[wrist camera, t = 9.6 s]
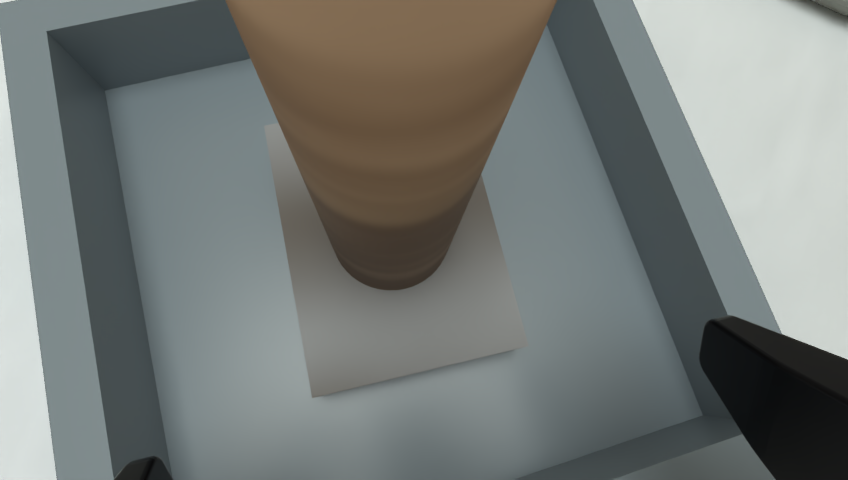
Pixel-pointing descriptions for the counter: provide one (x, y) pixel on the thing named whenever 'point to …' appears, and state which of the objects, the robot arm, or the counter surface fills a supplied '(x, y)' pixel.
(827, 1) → the frying pan
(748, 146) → the counter surface
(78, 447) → the tray
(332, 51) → the brown post on plinth
